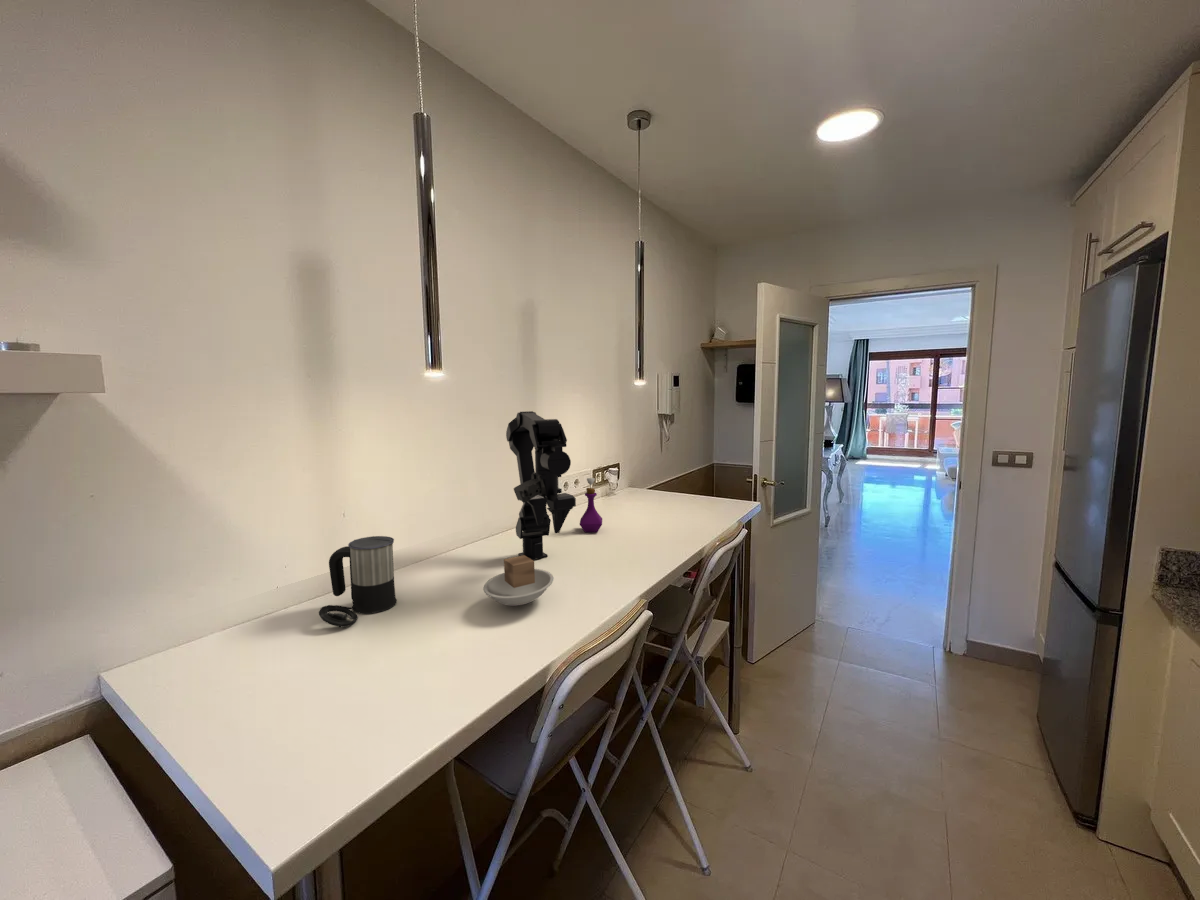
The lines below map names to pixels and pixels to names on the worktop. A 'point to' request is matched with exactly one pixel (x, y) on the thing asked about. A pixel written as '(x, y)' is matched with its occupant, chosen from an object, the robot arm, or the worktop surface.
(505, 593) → the dish
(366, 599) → the milk frother
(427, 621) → the worktop surface
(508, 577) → the walnut block
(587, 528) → the perfume bottle
